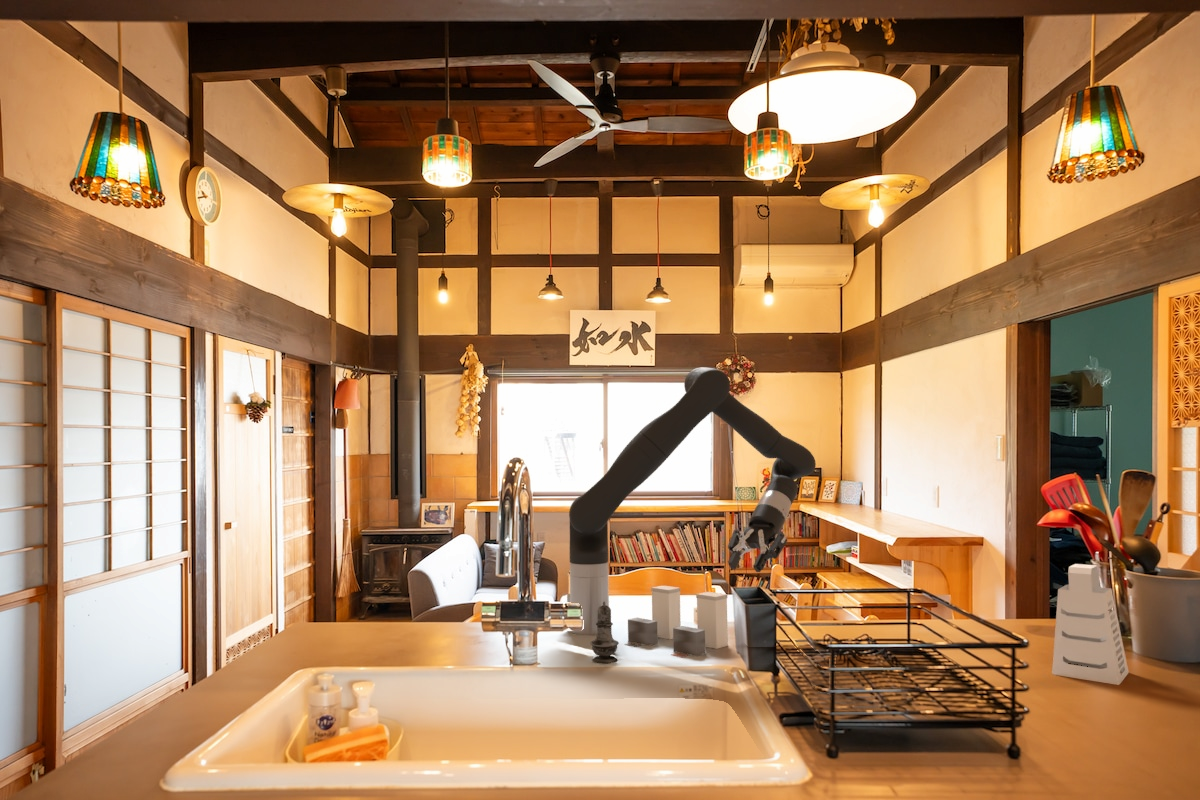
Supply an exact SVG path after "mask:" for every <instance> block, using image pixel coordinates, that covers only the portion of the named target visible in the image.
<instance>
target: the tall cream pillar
mask: <svg viewBox="0 0 1200 800" xmlns="http://www.w3.org/2000/svg"><path fill="white" fill-rule="evenodd" d="M650 590H651V591H650V592H651V606H652V607H651V614H652V615H651V616H652V617H651V620H653V621H657V636H658V638H662V639H666V640H671V639H672V640H673V628H676V627H680V626H682V625H681V623H682V622H681V592H682V591H681V587H677V586H672V585H671V586H669V585H658V586H653V587H651V588H650Z"/></svg>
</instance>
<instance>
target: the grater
mask: <svg viewBox="0 0 1200 800" xmlns="http://www.w3.org/2000/svg"><path fill="white" fill-rule="evenodd" d="M1067 573H1068V575H1067V576H1068V584H1065V585H1064V586H1061V587H1059V588H1058V589H1057V601H1056V612H1055V613H1056V615H1055V629H1054V641H1053V642H1054V643H1053V653H1052V654H1053V659H1052V671H1051V674H1052V675H1054V676H1060V677H1067V678H1073V679H1078V680H1085V681H1086V680H1087V681H1091V682H1097V683H1099V682H1100V683H1106V684H1111V685H1118V686H1119V685H1120V684H1121V683H1122V682H1123V681H1124V679H1125V678H1126V677H1127V675H1129V673H1130V672H1129V667H1128V664H1127V663H1128V662H1127V656H1126V652H1125V648H1124V647H1125V646H1124V643H1123V639H1122V633H1121V629H1120V624H1119V619H1118V615H1117V609H1116V605H1115V600H1114V595H1113V590H1112V588H1111V587H1110V588H1109V587H1103V586H1102V587H1101V583H1100V570H1099V566H1098V564H1097V565H1095V564H1083V563H1074V564H1072V565H1070V566H1068V572H1067ZM1068 663H1071V664H1068ZM1074 664H1078V665H1074ZM1081 665H1082V666H1081ZM1087 666H1088V667H1087Z"/></svg>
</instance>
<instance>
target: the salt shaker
mask: <svg viewBox="0 0 1200 800" xmlns="http://www.w3.org/2000/svg"><path fill="white" fill-rule="evenodd" d="M605 604H606V603H605V601H604V602H603V605H602V606H600V607H599V608H598V622H597V623H596V625H597V635H596V638H595V640H592V641H590V645H591V649H592V651H593V653H594V655H596V656H595V657H593V658H592V659H591V661H592V663H595V664H600V665H601V664H603V665H607V664H614V663H616V662H617V661H618V658H617V657H615V656H613V655H614V654H615V653H616V651H618V650H617V649H618V645H619V643H620V642H619V641H618V640H615V639H614V638H613V635H612V626H613V625H614V624H613V622H612V609H611V608H610V606H609V607H608V606H606V605H605Z"/></svg>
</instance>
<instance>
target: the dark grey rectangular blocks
mask: <svg viewBox="0 0 1200 800" xmlns="http://www.w3.org/2000/svg"><path fill="white" fill-rule="evenodd" d="M658 638H659V637H658V636H657V621H653V620H652V619H646V618H642V617H634V618H628V619H627V641H628V643H624V645H625V646H629V647H632V648H635V647H640V646H642V645H643V646H653V645H657V644H658ZM672 640H673V641H672V642H673V644H672V645H673V648H672V649H673V653H671V654H670V656H673V657H674V656H675V657H677V658H678V657H679V658H685V657H689V656H693V657H699V656H702V655H706V647H705V630H702V629H698V628H696V627H690V626H685V625H681V626H680V627H676V628H673V638H672ZM674 652H675V653H674Z"/></svg>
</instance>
